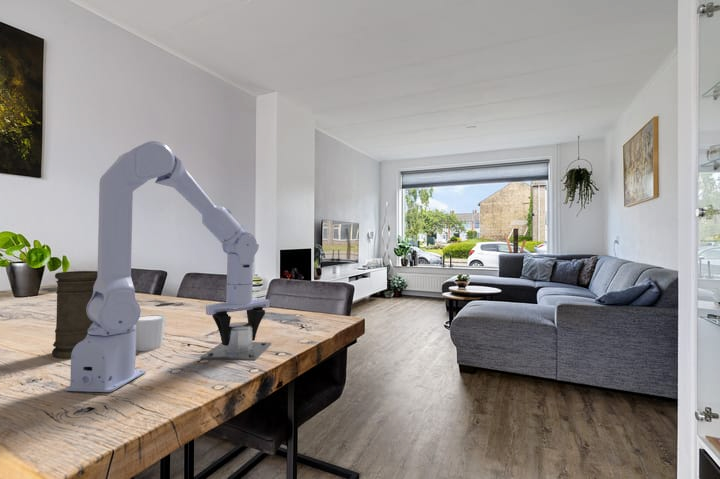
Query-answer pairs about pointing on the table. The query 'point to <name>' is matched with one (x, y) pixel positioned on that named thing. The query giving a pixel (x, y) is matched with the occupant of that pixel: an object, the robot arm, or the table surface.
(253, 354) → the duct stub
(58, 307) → the container
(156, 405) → the table surface
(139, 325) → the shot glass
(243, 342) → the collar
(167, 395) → the table surface
